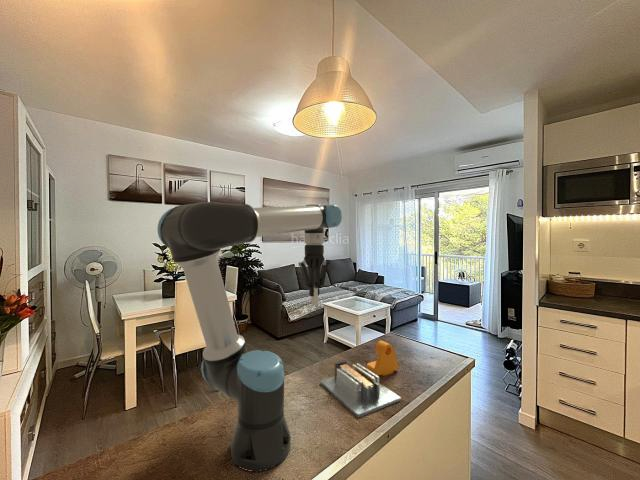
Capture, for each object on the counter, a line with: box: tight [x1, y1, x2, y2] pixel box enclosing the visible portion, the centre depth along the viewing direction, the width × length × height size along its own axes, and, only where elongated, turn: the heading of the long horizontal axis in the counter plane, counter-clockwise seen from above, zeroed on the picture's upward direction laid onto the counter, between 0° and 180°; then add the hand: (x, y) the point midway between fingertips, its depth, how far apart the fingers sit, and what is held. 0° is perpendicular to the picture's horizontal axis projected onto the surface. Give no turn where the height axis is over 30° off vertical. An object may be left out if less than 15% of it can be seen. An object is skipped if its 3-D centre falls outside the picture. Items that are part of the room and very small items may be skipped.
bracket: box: [366, 340, 399, 377], centre depth 114 cm, size 11×7×12 cm, turn 120°
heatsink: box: [319, 360, 402, 419], centre depth 98 cm, size 23×18×6 cm
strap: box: [340, 363, 376, 390], centre depth 99 cm, size 17×3×1 cm, turn 30°
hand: (314, 304), depth 109 cm, fingers closed
